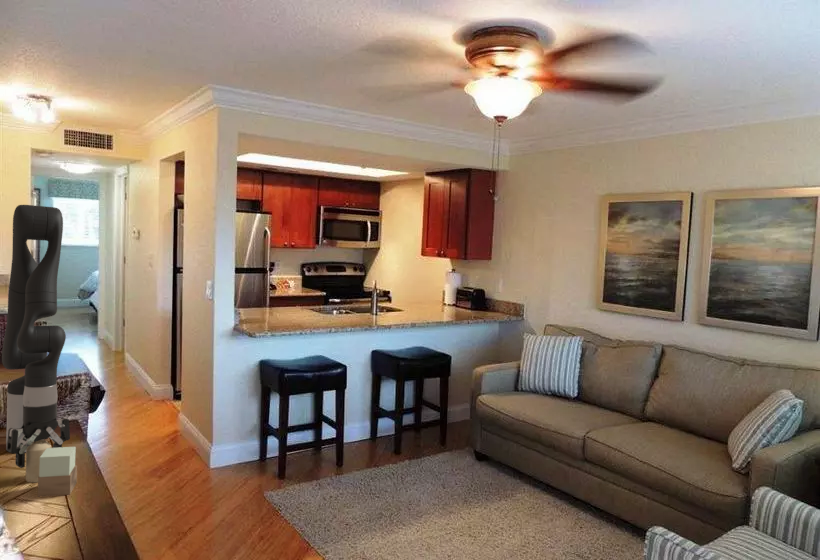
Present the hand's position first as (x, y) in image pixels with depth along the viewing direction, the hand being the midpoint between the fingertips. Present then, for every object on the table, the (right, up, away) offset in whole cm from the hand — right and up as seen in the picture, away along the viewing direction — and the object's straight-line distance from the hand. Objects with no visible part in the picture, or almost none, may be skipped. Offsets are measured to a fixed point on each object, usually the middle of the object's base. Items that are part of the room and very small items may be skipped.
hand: (39, 462), depth 150 cm
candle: (-1, -5, +1) cm, 5 cm away
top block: (+8, -1, -5) cm, 10 cm away
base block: (+8, -6, -5) cm, 11 cm away
